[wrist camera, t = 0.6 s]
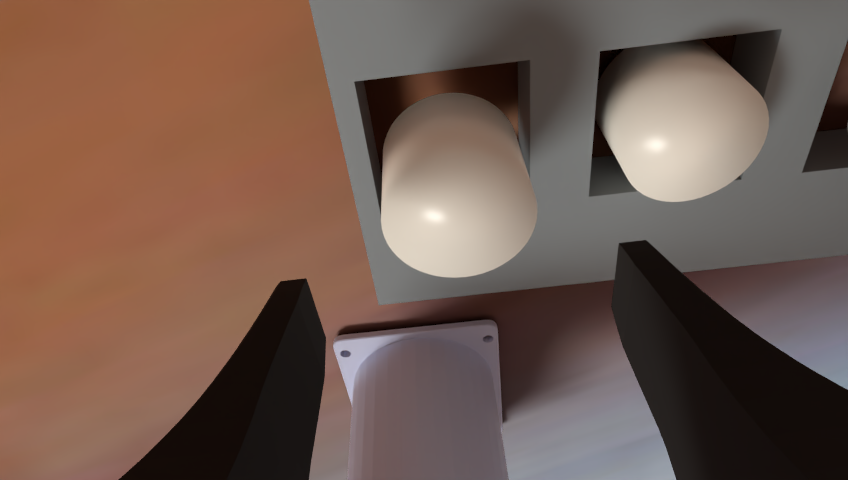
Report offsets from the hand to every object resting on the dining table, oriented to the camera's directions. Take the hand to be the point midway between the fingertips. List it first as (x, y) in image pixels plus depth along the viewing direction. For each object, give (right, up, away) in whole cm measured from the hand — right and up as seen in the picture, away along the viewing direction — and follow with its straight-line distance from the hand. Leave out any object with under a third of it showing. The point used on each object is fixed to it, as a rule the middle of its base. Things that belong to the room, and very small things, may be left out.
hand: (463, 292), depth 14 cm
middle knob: (+7, +6, +7) cm, 12 cm away
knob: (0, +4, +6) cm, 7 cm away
